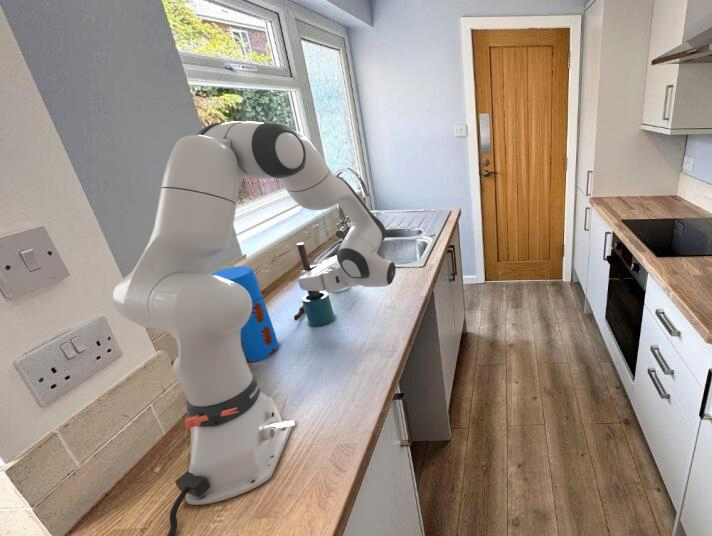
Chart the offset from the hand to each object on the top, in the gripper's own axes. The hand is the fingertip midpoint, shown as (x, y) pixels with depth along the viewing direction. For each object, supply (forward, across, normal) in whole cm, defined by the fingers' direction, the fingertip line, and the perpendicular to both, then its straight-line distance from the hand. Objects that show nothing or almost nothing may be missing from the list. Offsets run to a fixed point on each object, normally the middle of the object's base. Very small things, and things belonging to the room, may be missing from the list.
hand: (305, 270), depth 127 cm
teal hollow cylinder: (-1, 0, +18) cm, 18 cm away
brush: (-1, 0, +13) cm, 13 cm away
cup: (+7, -25, +18) cm, 31 cm away
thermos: (+7, +19, +18) cm, 27 cm away
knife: (+10, -6, +18) cm, 21 cm away
